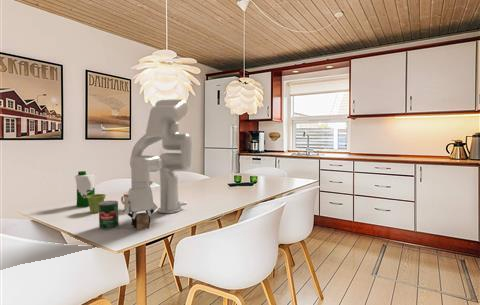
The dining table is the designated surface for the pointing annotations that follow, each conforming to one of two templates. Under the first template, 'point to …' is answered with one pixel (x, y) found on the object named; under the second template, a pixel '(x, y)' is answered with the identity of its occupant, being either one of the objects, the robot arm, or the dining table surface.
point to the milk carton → (84, 188)
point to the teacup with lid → (125, 200)
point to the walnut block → (142, 221)
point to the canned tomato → (108, 215)
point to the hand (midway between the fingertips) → (141, 225)
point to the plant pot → (95, 201)
